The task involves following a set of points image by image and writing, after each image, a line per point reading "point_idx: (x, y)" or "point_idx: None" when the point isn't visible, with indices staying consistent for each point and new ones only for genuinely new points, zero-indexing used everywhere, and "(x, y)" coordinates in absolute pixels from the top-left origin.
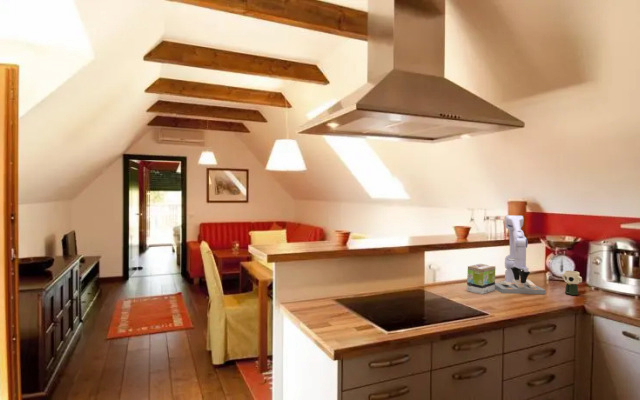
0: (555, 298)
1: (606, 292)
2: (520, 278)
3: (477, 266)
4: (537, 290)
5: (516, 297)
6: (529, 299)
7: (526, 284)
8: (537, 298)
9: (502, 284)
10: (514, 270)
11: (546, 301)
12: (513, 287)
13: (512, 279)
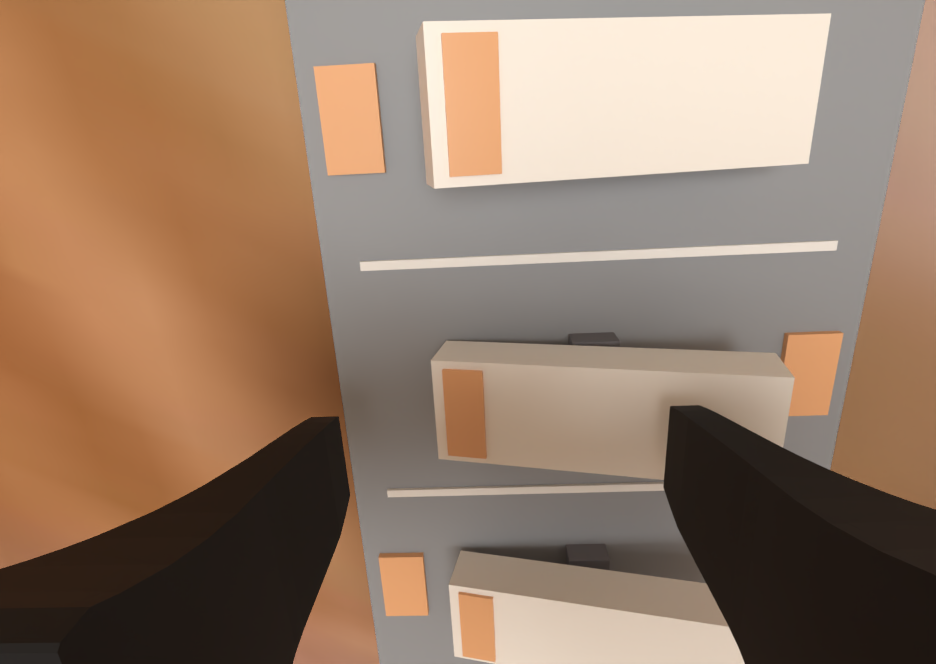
0: None
1: None
2: (283, 463)
3: None
4: (371, 587)
5: (68, 118)
6: (19, 300)
7: None
8: (130, 444)
9: None
10: (860, 608)
11: (7, 492)
12: (473, 245)
13: (790, 375)
